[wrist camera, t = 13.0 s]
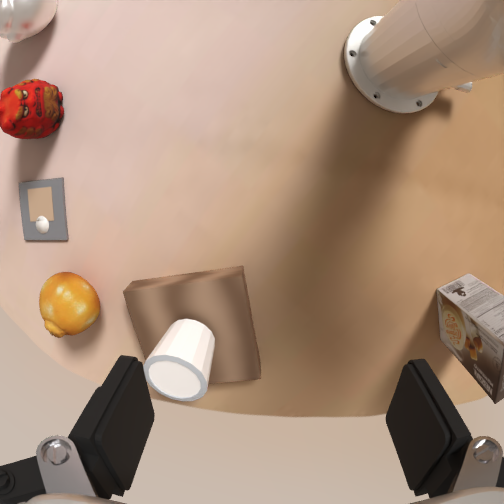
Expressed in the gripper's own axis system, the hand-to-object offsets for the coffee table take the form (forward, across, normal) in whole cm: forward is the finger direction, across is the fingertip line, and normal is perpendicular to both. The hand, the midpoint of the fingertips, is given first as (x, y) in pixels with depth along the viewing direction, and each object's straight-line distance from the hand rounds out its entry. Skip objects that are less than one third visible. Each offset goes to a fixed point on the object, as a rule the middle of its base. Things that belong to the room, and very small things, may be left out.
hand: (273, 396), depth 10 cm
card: (+26, +29, -2) cm, 39 cm away
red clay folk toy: (+27, +28, -15) cm, 42 cm away
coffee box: (+27, -28, +11) cm, 41 cm away
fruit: (+26, +24, +10) cm, 37 cm away
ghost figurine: (+27, +31, -30) cm, 51 cm away
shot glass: (+23, +8, +13) cm, 27 cm away
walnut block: (+27, +8, +13) cm, 31 cm away
